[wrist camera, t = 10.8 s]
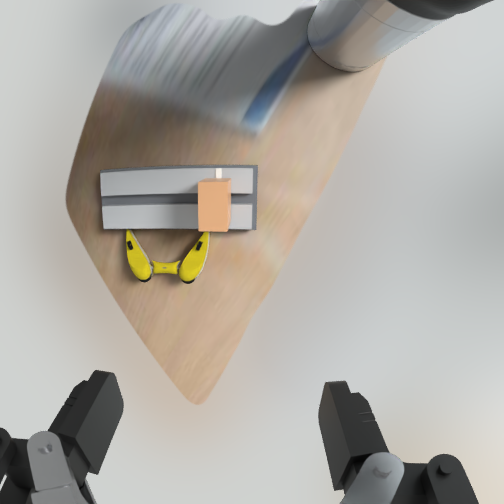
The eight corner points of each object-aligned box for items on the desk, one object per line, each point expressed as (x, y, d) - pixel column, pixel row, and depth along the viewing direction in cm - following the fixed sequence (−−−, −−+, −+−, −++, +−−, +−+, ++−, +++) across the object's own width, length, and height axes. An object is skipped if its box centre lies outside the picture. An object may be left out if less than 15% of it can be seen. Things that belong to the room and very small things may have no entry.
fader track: (109, 226, 35) (100, 231, 33) (105, 169, 33) (96, 171, 30) (255, 226, 35) (256, 232, 33) (257, 165, 33) (257, 165, 31)
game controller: (132, 281, 36) (122, 281, 33) (134, 230, 37) (124, 226, 33) (210, 283, 37) (206, 284, 33) (211, 230, 37) (207, 226, 34)
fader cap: (207, 218, 33) (198, 231, 27) (207, 177, 32) (197, 182, 26) (231, 218, 33) (227, 231, 27) (231, 177, 32) (227, 182, 26)
